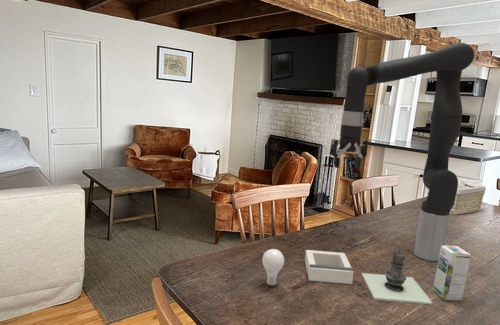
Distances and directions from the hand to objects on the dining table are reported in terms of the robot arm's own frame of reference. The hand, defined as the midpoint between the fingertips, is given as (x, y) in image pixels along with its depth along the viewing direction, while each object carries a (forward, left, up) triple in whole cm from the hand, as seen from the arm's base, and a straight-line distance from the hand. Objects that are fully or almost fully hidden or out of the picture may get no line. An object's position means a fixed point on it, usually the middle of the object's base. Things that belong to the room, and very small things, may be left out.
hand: (346, 167), depth 129 cm
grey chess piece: (-11, +31, -30) cm, 44 cm away
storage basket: (-75, -60, -30) cm, 101 cm away
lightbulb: (+26, +35, -30) cm, 53 cm away
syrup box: (-26, +32, -30) cm, 51 cm away
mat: (-11, +31, -30) cm, 45 cm away
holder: (+8, +24, -30) cm, 39 cm away
